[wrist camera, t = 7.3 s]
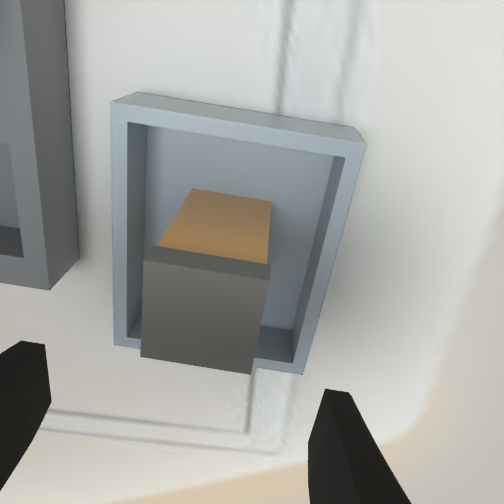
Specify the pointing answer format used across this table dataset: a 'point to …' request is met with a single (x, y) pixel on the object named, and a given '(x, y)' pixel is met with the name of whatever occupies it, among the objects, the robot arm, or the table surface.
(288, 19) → the table surface
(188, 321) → the block
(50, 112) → the block
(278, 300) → the parts tray
